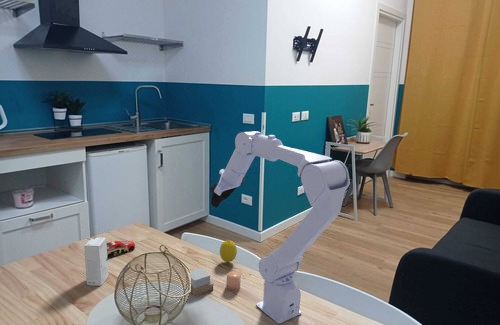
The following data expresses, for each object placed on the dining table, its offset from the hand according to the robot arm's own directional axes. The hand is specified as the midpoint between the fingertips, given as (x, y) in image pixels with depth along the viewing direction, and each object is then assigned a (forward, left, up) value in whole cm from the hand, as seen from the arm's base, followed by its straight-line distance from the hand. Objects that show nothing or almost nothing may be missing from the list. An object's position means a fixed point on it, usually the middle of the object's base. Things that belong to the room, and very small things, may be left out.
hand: (220, 199), depth 110 cm
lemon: (+3, -5, -24) cm, 24 cm away
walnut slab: (-6, +10, -24) cm, 27 cm away
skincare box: (+14, +33, -24) cm, 43 cm away
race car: (+29, +23, -24) cm, 44 cm away
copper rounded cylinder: (-11, +2, -23) cm, 26 cm away
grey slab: (-6, +11, -21) cm, 25 cm away
